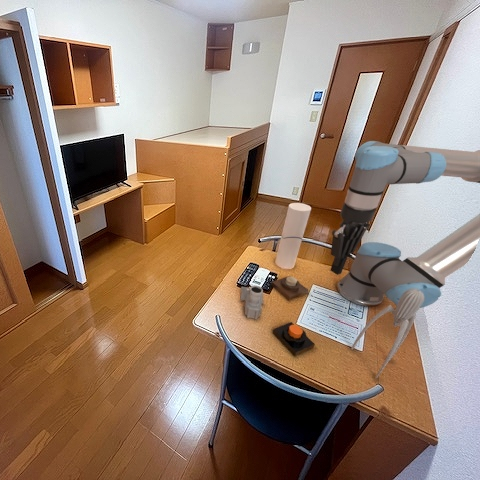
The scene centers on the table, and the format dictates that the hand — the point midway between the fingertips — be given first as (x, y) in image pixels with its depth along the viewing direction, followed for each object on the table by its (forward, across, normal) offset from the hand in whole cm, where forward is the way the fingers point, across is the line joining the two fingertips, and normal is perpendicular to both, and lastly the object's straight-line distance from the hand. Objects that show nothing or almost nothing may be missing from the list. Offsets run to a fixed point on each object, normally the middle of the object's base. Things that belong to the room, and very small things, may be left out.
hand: (335, 271), depth 84 cm
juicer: (+23, -2, +19) cm, 30 cm away
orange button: (+18, +16, +3) cm, 24 cm away
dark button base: (+22, +16, +3) cm, 27 cm away
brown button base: (+22, -3, -17) cm, 28 cm away
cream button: (+19, -3, -17) cm, 25 cm away
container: (+23, -15, -31) cm, 41 cm away
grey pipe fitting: (+22, +17, -16) cm, 32 cm away
